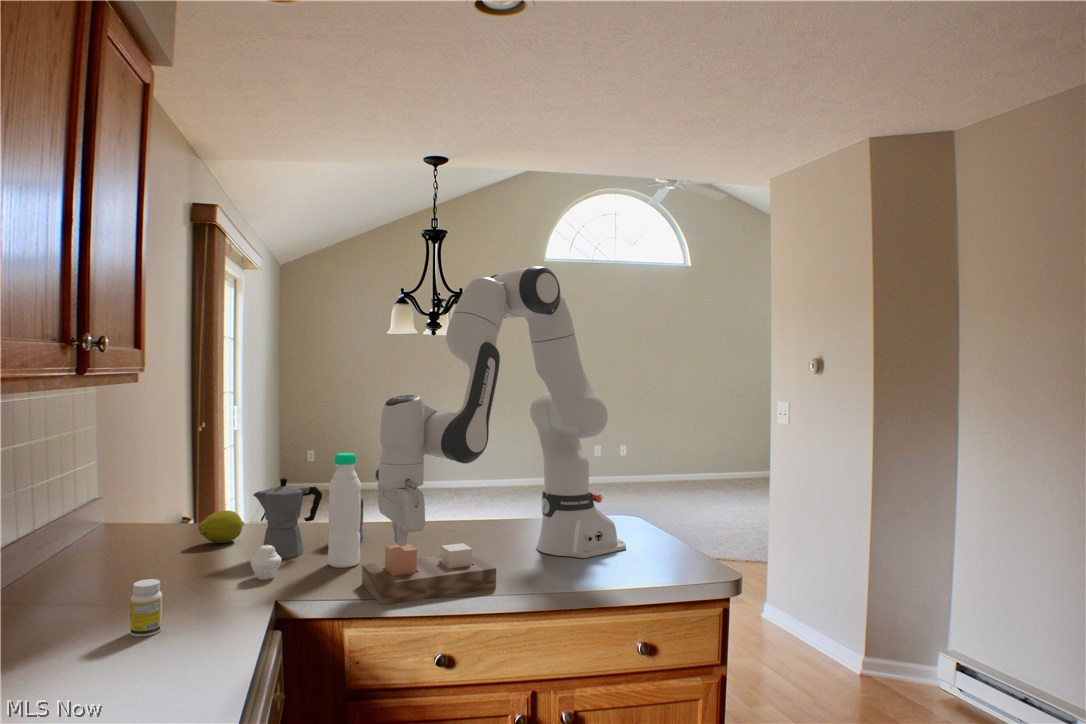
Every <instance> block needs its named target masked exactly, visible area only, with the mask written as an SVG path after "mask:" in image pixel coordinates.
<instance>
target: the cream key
mask: <svg viewBox="0 0 1086 724" xmlns="http://www.w3.org/2000/svg"><path fill="white" fill-rule="evenodd" d="M472 553H473V548H472V547H470V546H469V545H467V544H465V543H463V542H462V543H452V544H445V545H443V544H442V545H441V546H440V555H441V564H442V565H444V566H445V567H446V568H448V569H449V568H456V567H464V566H471V565H472Z"/></svg>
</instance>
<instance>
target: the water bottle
mask: <svg viewBox="0 0 1086 724" xmlns="http://www.w3.org/2000/svg"><path fill="white" fill-rule="evenodd" d="M356 463H357V455H356V453H352V452H339V453H336V454H335V455H334V466H335V467H336V470H335V471H334V473H333V475H332V478H331V480H330V482H329V484H328V491H329V497H328V532H329V533H328V537H327V543H328V544H327V545H328V551H327V563H328V565H329V566H330V567H333V568H337V569H345V568H346V569H347V568H352V567H354V566H357V565H358V564H359V563H360V561H361V548H360V544H361V541H360V532H359V530H360V517H361V498H362V497H361V490H362V483H361V481H360V479H359V477H358V473H357V472H356V471H355V466H356Z"/></svg>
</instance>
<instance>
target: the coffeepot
mask: <svg viewBox="0 0 1086 724" xmlns="http://www.w3.org/2000/svg"><path fill="white" fill-rule="evenodd" d="M279 481H280V485H278V486H276V487H275V486H274V487H272V488H267V489H265V490H259V491H257V492H254V493H253V495H252V496H253V497H254V498H256V499H257V500H258V502H259V504H260V506H262V508H263V510H264V515H265V520H266V521H267V527H266V529H265V534H264V539H263V540H264V541H263V545H262V546H265V545H271V546H273V547H274V548H275V551H276V552H277V554H278V555H279V556H280V557H281V559H282V560H289V559H293V558H297V557H299V556H301V555H302V554H303V552H304V546H303V541H302V534H301V529H300V526H299V525H298V524H299V523H298V522H299V521H298V519H299V518H300V517H301V511H302V507H303V506H302V505H303V499H304V497H306V496H310V495H314V498H313V501H312V506H311V508H310V511H309V513H310V514H309V516H307V517H304V518H303V520H304V521H305V522H312V521H314V520H315V517H316V515H317V511H318V509H319V506H320V504H321V500H322V499H323V493H322V491H321V490H320V489H319V488H318V487H317V486H304V487H295V486H291V485H290V486H289V485H287V482H288V478H285V477H282V478H279Z"/></svg>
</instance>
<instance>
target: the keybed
mask: <svg viewBox="0 0 1086 724" xmlns="http://www.w3.org/2000/svg"><path fill="white" fill-rule="evenodd" d="M361 585H362V586H363V587H364V588H365V589H366V590H367V592H368V593H369V594H370V596H372V597H373V598H374V600H376V602H377V603H378V604H379V605H380V606H383V605H391V604H396V603H402V602H404V603H405V602H410V601H417V600H423V599H430V598H436V597H442V596H449V595H456V594H463V593H470V592H477V591H483V590H489V589H496V588H497V568H496V567H495V566H493V565H492V564H490V563H489V562H487V561H485V560H484V559H482V558H481V557H479V556H478V555H476V554H475V553H473V552H472V565H471V566H464V567H456V568H449V569H448V568H446V567H445V566H444V565H442V564H441V554H440V555H433V556H432V555H431V556H424V557H417V573H411V574H403V575H396V576H390V575H389V574H388V573H387V572H386V571H385V561H382V562H374V563H368V564H367V563H366V564H365V563H364V564H361Z"/></svg>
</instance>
